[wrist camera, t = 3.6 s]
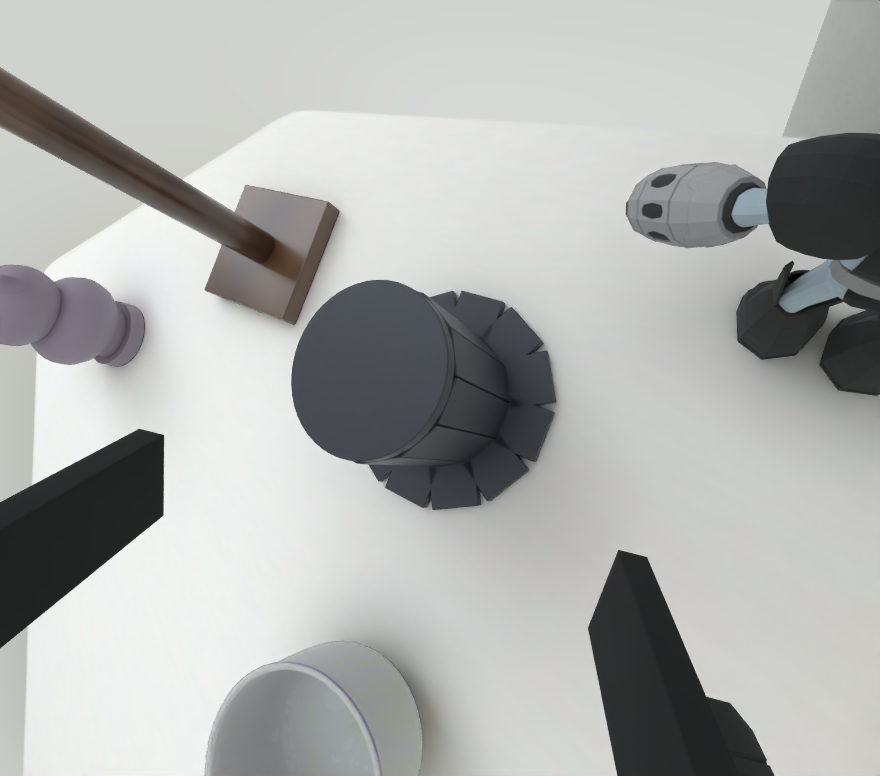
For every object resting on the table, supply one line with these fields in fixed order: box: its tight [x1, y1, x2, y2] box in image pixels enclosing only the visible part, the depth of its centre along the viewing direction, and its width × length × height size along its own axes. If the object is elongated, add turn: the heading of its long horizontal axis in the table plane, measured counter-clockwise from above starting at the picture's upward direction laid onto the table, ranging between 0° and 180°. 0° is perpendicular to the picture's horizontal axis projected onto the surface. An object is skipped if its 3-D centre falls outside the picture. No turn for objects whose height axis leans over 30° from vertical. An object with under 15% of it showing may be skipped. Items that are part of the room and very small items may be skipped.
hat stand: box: [0, 67, 339, 324], centre depth 31 cm, size 10×10×23 cm
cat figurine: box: [0, 265, 145, 367], centre depth 43 cm, size 8×8×12 cm
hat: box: [291, 280, 556, 510], centre depth 28 cm, size 14×14×10 cm
